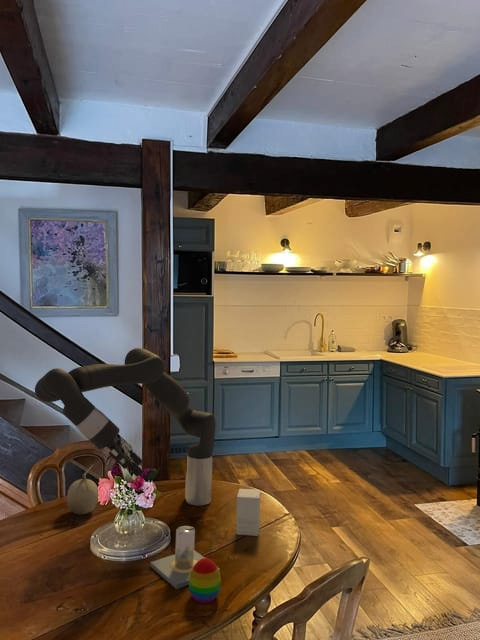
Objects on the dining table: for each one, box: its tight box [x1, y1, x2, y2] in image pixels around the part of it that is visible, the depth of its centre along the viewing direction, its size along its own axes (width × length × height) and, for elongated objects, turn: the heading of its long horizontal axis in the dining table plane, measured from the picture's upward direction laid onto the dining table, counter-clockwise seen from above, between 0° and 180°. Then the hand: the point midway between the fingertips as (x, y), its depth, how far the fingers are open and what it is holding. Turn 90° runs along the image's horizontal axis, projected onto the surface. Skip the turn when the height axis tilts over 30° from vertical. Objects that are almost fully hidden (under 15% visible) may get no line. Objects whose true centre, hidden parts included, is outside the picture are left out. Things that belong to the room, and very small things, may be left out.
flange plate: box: [150, 549, 221, 590], centre depth 150 cm, size 14×14×1 cm
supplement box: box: [235, 488, 261, 537], centre depth 175 cm, size 7×7×13 cm
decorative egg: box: [188, 557, 222, 604], centre depth 137 cm, size 8×8×10 cm
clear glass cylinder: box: [174, 525, 196, 570], centre depth 149 cm, size 5×5×10 cm
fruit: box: [66, 464, 99, 515], centre depth 184 cm, size 10×12×15 cm
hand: (140, 468), depth 147 cm, fingers open, 8 cm apart
